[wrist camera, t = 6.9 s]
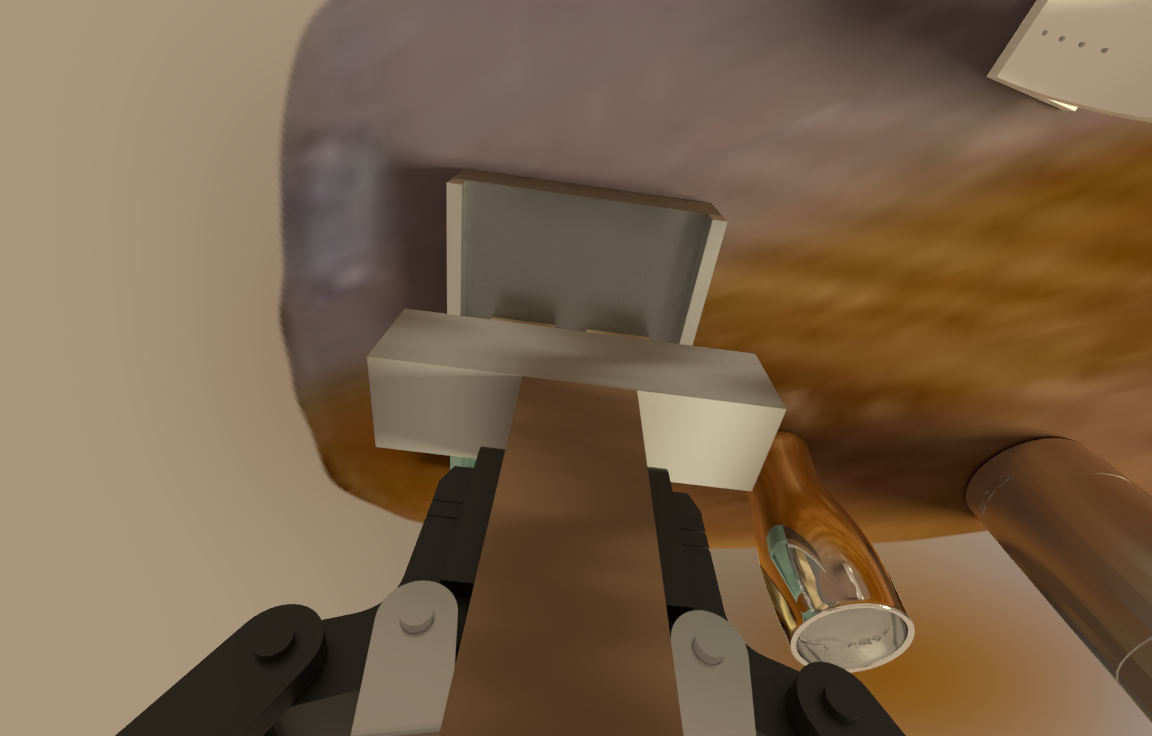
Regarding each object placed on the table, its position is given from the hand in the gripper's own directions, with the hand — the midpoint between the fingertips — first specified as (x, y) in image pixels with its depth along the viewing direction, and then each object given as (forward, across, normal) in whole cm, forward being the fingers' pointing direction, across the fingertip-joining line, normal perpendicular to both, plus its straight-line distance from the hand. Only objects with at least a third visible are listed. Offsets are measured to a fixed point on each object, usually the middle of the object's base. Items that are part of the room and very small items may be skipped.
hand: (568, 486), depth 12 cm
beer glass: (+23, -18, +16) cm, 33 cm away
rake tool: (+5, 0, 0) cm, 5 cm away
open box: (+23, 0, +5) cm, 23 cm away
